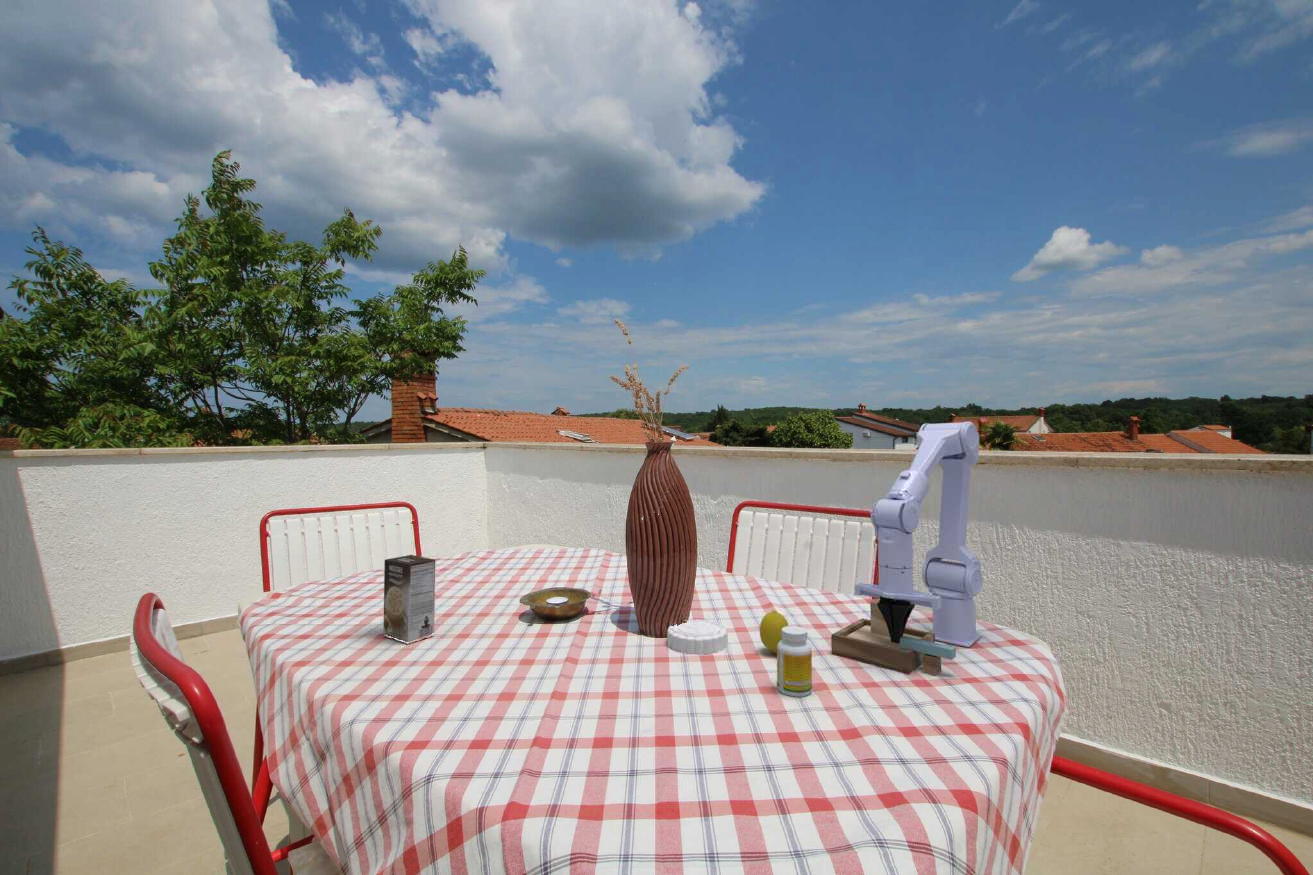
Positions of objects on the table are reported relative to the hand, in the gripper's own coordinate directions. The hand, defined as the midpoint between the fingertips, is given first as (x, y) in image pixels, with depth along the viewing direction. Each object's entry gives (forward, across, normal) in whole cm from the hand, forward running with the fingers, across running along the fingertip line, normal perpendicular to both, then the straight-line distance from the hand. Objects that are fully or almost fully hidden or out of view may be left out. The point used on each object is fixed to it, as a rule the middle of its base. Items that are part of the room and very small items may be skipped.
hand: (896, 641), depth 98 cm
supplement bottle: (+4, -8, -23) cm, 25 cm away
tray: (+4, -2, +3) cm, 5 cm away
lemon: (+4, -18, -11) cm, 22 cm away
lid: (+2, -4, +3) cm, 5 cm away
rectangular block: (+1, +5, 0) cm, 5 cm away
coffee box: (+4, -78, -55) cm, 96 cm away
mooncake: (+4, -32, -17) cm, 37 cm away
